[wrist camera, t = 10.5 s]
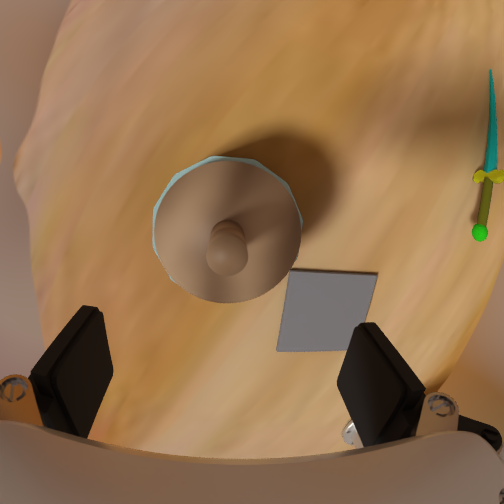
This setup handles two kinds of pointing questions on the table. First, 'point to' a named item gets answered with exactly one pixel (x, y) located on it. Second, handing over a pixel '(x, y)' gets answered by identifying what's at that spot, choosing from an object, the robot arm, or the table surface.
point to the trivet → (323, 310)
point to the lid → (227, 232)
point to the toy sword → (488, 171)
